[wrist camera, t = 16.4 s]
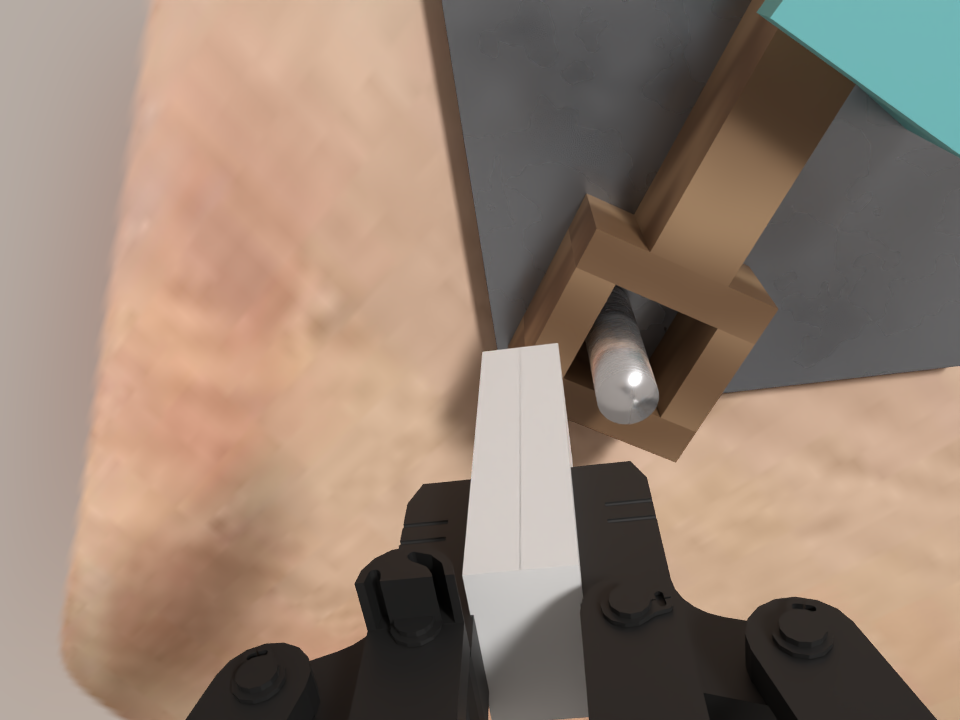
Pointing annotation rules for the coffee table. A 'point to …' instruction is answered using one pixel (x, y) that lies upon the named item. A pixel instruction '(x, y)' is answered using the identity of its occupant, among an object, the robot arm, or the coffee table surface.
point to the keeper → (887, 55)
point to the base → (639, 155)
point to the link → (692, 236)
